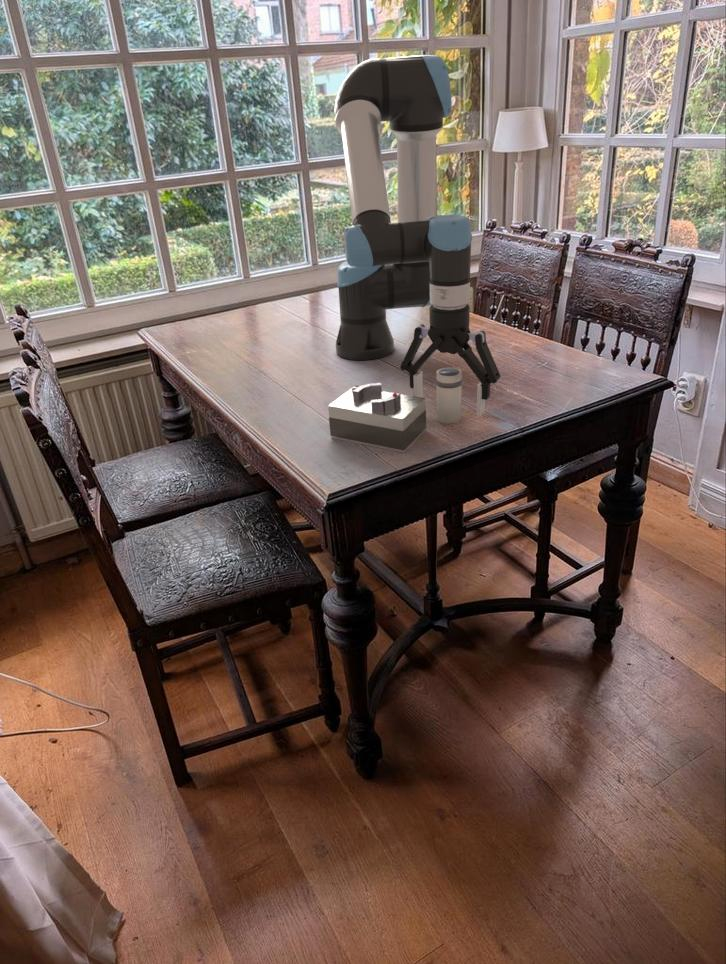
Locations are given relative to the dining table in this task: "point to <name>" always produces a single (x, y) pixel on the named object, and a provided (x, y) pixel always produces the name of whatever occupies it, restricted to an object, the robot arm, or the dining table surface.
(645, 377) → the dining table surface
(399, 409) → the two-tone block with arcs
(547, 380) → the dining table surface
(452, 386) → the lens
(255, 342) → the dining table surface
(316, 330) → the dining table surface
